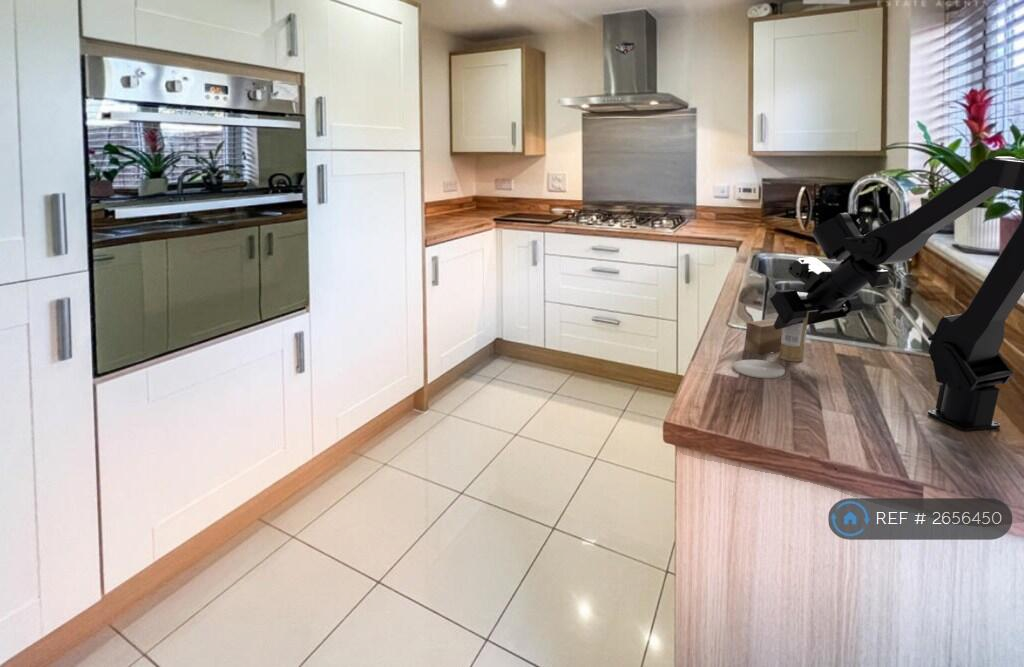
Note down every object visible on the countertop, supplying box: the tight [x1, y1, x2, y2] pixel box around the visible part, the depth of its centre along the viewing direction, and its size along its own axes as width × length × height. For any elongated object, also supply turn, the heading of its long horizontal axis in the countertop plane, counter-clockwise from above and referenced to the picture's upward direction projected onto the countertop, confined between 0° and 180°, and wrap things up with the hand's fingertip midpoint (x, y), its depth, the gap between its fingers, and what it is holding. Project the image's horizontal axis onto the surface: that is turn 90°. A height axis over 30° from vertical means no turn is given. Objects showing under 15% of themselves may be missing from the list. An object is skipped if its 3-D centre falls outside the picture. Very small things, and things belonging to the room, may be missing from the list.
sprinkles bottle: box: [778, 291, 809, 363], centre depth 116 cm, size 5×5×13 cm
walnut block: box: [744, 317, 782, 355], centre depth 123 cm, size 4×8×6 cm, turn 112°
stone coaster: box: [733, 359, 786, 379], centre depth 111 cm, size 9×9×1 cm
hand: (789, 325), depth 117 cm, fingers open, 7 cm apart
